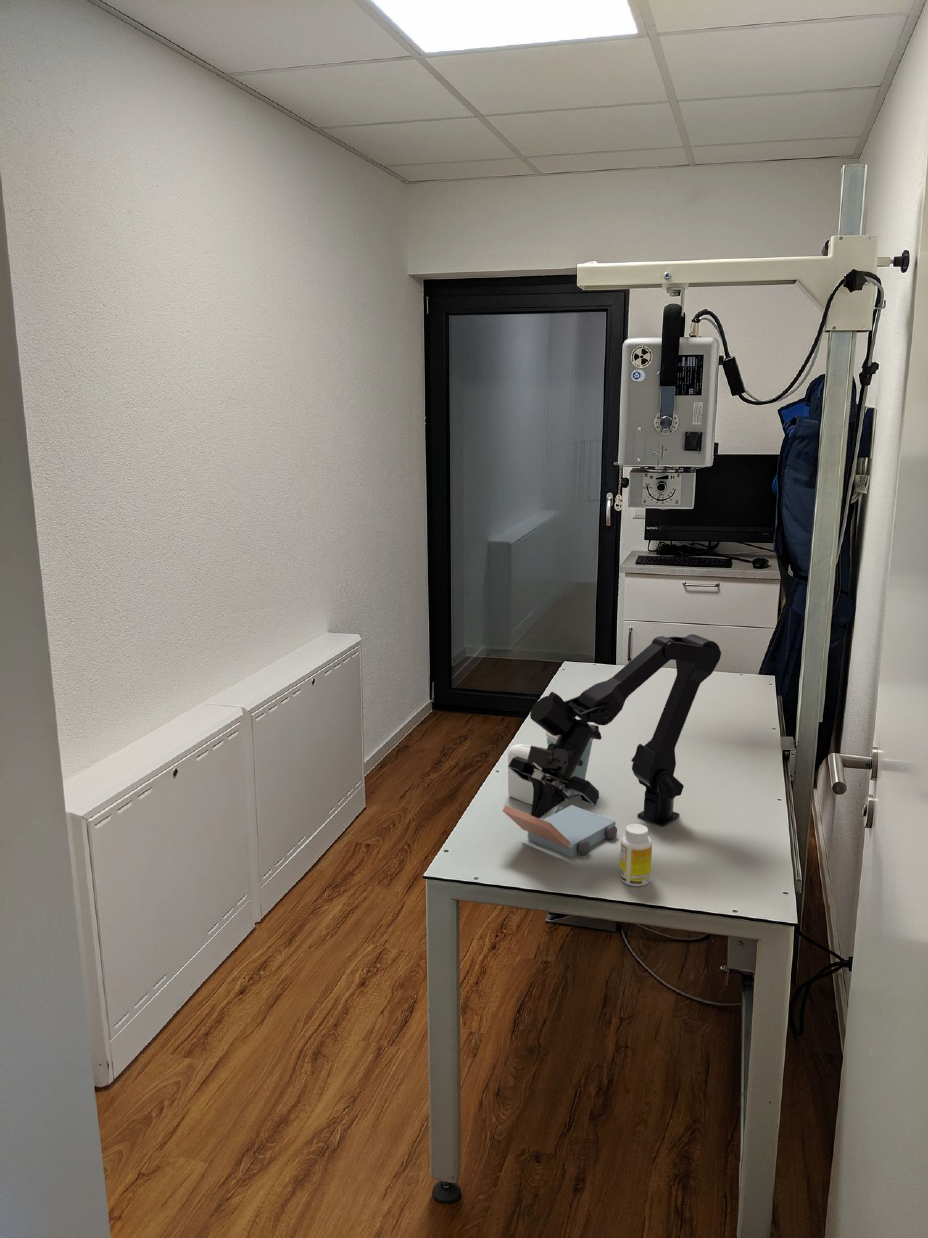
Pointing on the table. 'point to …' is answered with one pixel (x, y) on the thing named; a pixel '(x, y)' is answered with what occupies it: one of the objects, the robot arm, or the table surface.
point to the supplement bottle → (635, 856)
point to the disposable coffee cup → (581, 770)
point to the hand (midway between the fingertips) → (533, 819)
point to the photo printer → (516, 784)
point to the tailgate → (537, 826)
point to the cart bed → (577, 830)
